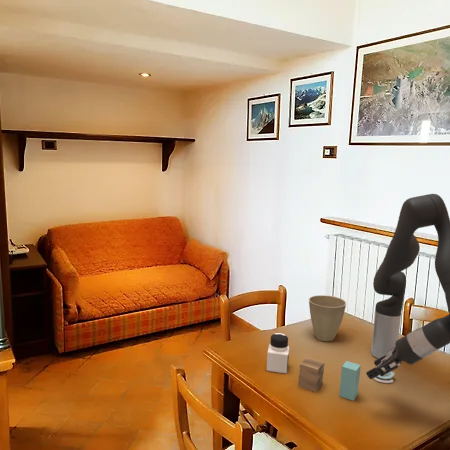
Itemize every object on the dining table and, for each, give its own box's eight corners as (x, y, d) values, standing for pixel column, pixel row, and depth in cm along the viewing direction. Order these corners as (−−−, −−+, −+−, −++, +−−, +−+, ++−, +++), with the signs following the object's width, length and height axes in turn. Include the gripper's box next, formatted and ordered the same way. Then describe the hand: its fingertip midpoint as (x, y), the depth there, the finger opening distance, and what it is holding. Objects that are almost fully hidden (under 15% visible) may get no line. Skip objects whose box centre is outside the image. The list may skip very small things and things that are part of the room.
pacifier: (395, 385, 142) (392, 376, 148) (397, 368, 141) (394, 359, 147) (372, 382, 143) (370, 373, 149) (374, 365, 142) (372, 357, 148)
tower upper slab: (306, 368, 143) (307, 356, 142) (323, 373, 140) (324, 362, 139) (299, 375, 138) (300, 363, 137) (316, 381, 135) (317, 369, 134)
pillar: (343, 389, 138) (346, 360, 136) (357, 394, 135) (360, 365, 134) (339, 395, 134) (341, 366, 132) (353, 400, 132) (356, 370, 130)
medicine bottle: (287, 373, 146) (289, 341, 144) (266, 371, 148) (268, 338, 146) (288, 364, 153) (290, 332, 151) (268, 361, 155) (270, 330, 153)
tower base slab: (305, 379, 144) (306, 368, 143) (322, 384, 141) (323, 373, 140) (298, 386, 139) (298, 375, 138) (315, 392, 136) (316, 381, 135)
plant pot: (342, 332, 183) (345, 297, 180) (343, 347, 168) (347, 309, 166) (306, 328, 186) (309, 293, 183) (305, 342, 172) (308, 304, 169)
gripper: (412, 326, 128) (370, 351, 136) (403, 342, 117) (357, 368, 125) (429, 347, 126) (385, 371, 135) (421, 366, 115) (374, 391, 123)
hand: (372, 370), depth 130 cm, fingers open, 8 cm apart
